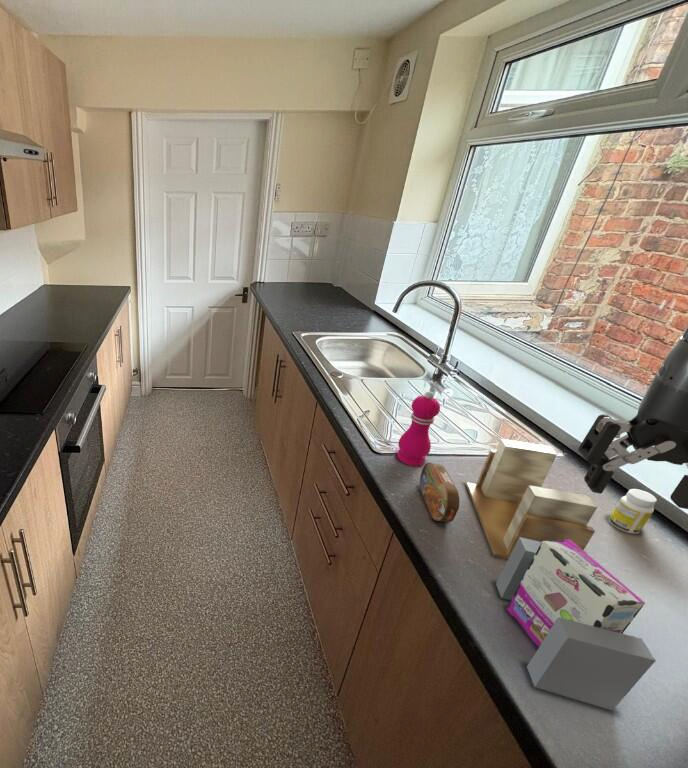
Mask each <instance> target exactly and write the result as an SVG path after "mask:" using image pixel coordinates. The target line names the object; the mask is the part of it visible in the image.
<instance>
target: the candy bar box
mask: <svg viewBox="0 0 688 768" xmlns="http://www.w3.org/2000/svg"><path fill="white" fill-rule="evenodd" d="M584 551H585V550H582V549H581V548H580V547H578V546H577V545H576V544H575V543H574V542H572V541H571V540H557V541H542V542H541V544H540V546H539V548H538V550H537V552H536V554H535V556H534V558H533V560H532V561H531V563H530V565H529V567H528V569H527V571H526V573H525V575H524V577H523V579H522V580H521V582H520V584H519V586H518V588H517V590H516V592H515V594H514V595H513V597H512V599H511V600H509V602H508V605H507V606H506V610H507V611H508V613H509V614H510V615H511V617H512V618H513V619H514V620H515V621H516V622H517V624H518V625H519V626H520V627H521V628H522V630H523V631H524V632H525V633H526V634H527V635H528V637H529V638H530V639H531V641H532V642H533V643H534V644H535V646H537V648H539V647H540V645H541V644H542V642H543V640H544V639H545V637H546V636H547V634H548V632H549V631H550V629H551V628H552V626H553V625H554V623H555V621H556V620H557V618H558V617H559V618H563V619H567V620H571V621H575V622H579V623H583V624H587V625H591V626H594V627H598V628H602V629H606V630H610V631H614V632H618V633H622V634H624V633H625V631H626V630H627V628H628V627H629V626H630V625H631V623H632V622H633V620H634V619H635V618H636V616H637V615H638V614H639V612H640V611H641V610H642V608H644V606H645V605H646V601H644V600H643V599H642V598H640V597H639V596H638V595H637V594H636V593H634V592H633V590H631V589H630V588H628V586H626V585H625V584H624V583H622V581H620V580H619V579H618V578H617V577H615V576H614V575H613V574H612V573H611V572H610V571H608V570H607V569H606V568H605V567H603V566H602V564H601V563H599V562H597V560H595V559H594V558H593V557H592V556H590V555H589V554H588V553H587V551H586V552H584Z"/></svg>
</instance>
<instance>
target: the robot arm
mask: <svg viewBox="0 0 688 768" xmlns="http://www.w3.org/2000/svg"><path fill="white" fill-rule="evenodd" d="M586 433H587V434H586V435H585V437H584V439H583V440H582V442H581V443H580V445H579V446H578V448H577V452H578V453H579V455H581V457H583V458H584V460H585V461H586V462H587V463H588V464H590V466H589V468H588V469H587V472H586V473H585V475H584V477H583V478H584V482H585V484H586V485H587V487H588V488H589V490H590V491H591V492H592V493H595V494H603V493H604V491H605V489H606V487H607V485H608V484H609V483H610V482H609V481H610V480H612V479H611V478H612V477H613V475H614V473H615V472H614V470H617V469H618V468H621V467H622V466H625V465H627V464H630V465H635V464H638V463H640V462H643V461H645V460H647V461H651V462H667V463H670V464H672V465H676V466H683V465H685V466H686V468H687V469H688V324H687V325H686V327H685V329H684V330H683V332H682V334H681V336H680V338H679V340H678V341H677V342H676V343H675V345H674V346H673V347H671V349H670V350H669V352H668V353H667V355H666V357H664V360H663V361H662V363H661V365H660V367H659V368H658V370H657V372H656V374H655V376H654V377H653V380H652V381H651V383H650V385H649V387H647V390H646V391H645V393H644V395H643V397H642V398H641V401H640V402H639V405H638V409H637V413H636V415H635V416H634V417H632V418H631V419H630V420H628V421H626V420H619V419H615V418H612V417H611V416H610V415H609V414H606V413H602V414H599V415H598V416H597V417H596V418H595V421H594V422H593V424H592V425H591V427H590V428H589V430H588V431H587V432H586ZM624 433H626V434H625V435H623V436H621V435H622V434H624ZM631 446H632V448H633V449H634V450H633V451H629V450H627V449H628V448H630V447H631ZM670 501H672V503H674V504H675V505H676V506H677V508H680V509H685V510H688V474H684V475H683V476H682V478H681V480H680V481H679V482H678V484H677V485H676V487H675V488H674V490H673V492H672V493H671V494H670Z"/></svg>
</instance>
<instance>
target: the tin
mask: <svg viewBox="0 0 688 768" xmlns="http://www.w3.org/2000/svg"><path fill="white" fill-rule="evenodd" d="M419 490H420V492H421V494H422V497H423V499H424V502H425V504H426V506H427V509H428V511H429V514H430V516H431V518H432V519H433V520H435V521H437V522H445V523H450V522H453V521H454V519H455V517H456V515H457V513H458V512H459V509H460V496H459V490H458V489H457V487H456V485H455V483H454V482H453V479H452V478H451V476H450V475H449V472H448V471H447V469H446V468H445V466H443V465H442V464H439V463H433V462H427V463H424V466H423V467H422V469H421V472H420V477H419Z"/></svg>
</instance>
